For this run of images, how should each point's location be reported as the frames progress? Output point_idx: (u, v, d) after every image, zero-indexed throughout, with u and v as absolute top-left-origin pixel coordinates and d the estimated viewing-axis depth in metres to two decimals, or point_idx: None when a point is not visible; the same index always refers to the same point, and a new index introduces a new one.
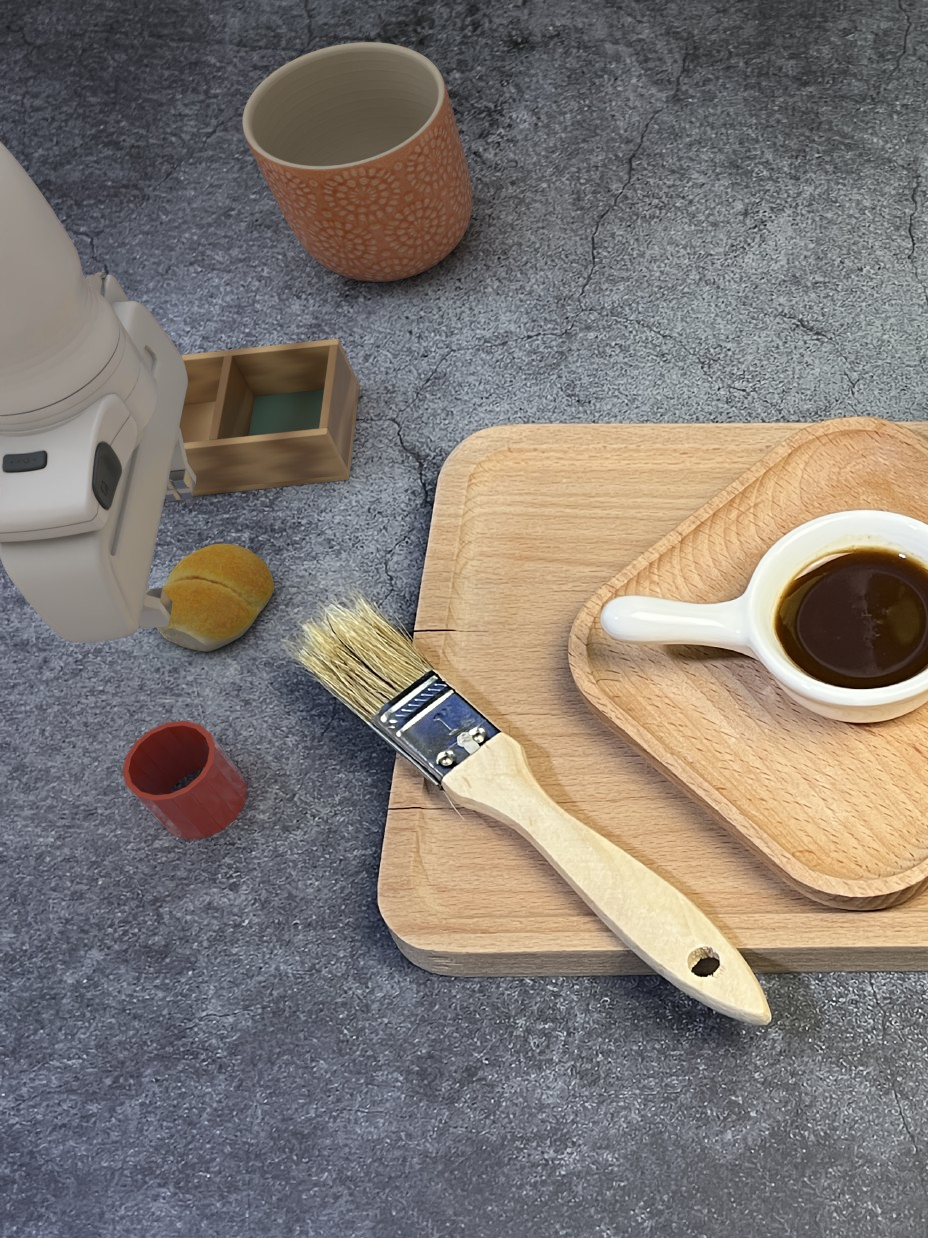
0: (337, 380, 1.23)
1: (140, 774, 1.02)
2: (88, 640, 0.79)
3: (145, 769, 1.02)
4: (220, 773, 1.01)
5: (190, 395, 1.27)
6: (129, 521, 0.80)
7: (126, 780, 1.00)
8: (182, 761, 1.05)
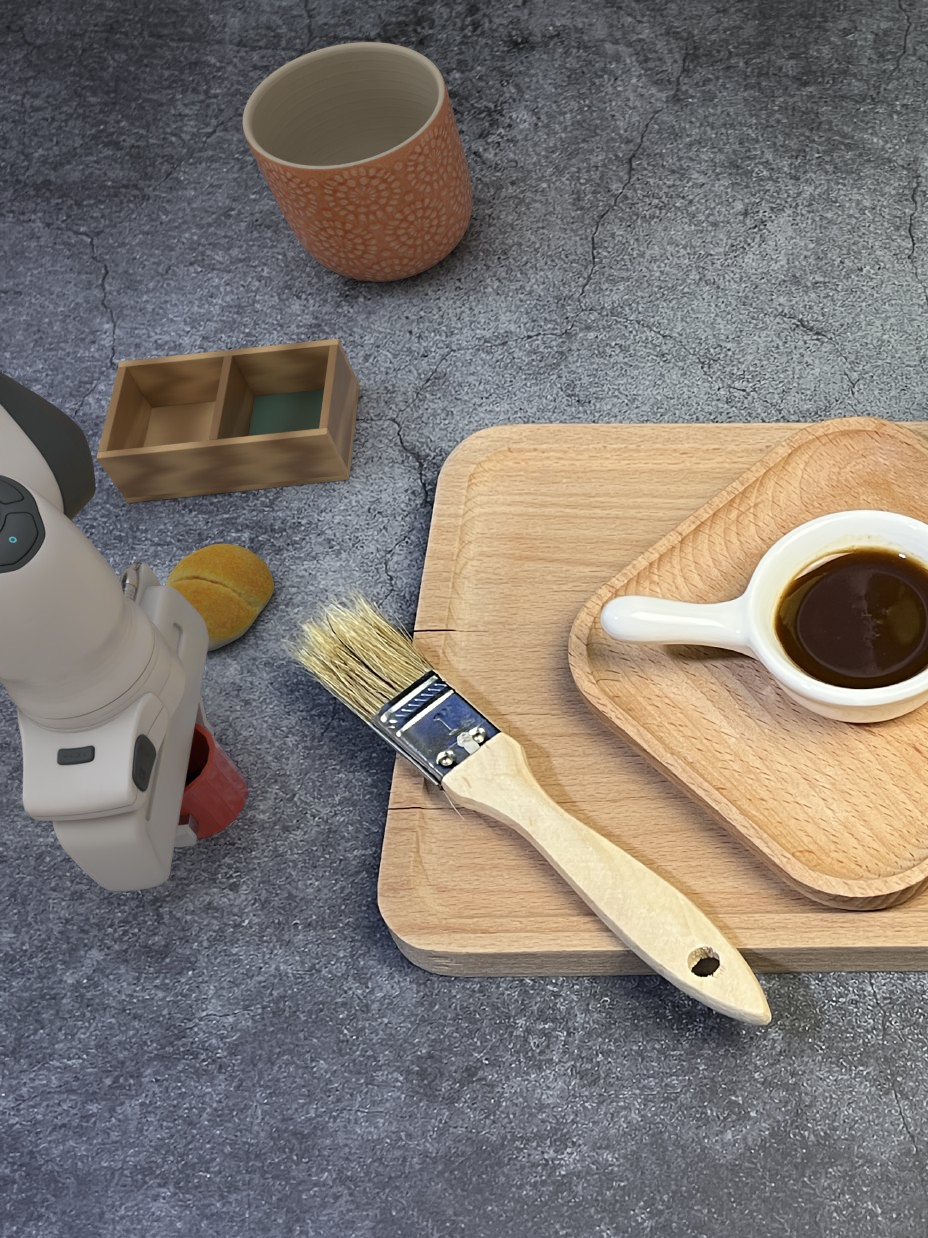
0: (337, 380, 1.23)
1: None
2: (127, 889, 0.93)
3: None
4: (220, 773, 1.01)
5: (190, 395, 1.27)
6: (161, 785, 0.95)
7: None
8: None
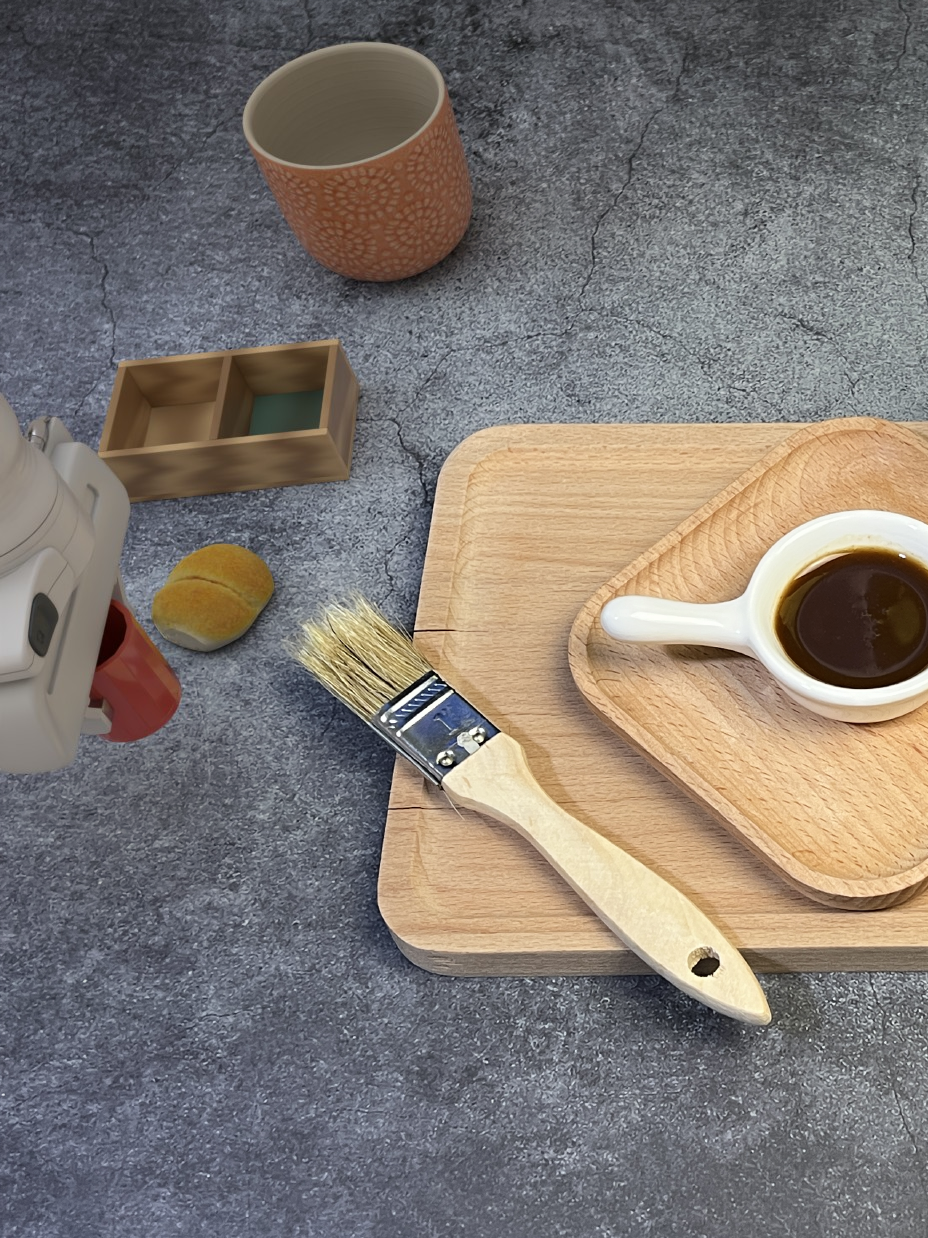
0: (337, 380, 1.23)
1: None
2: (26, 772, 0.84)
3: None
4: (138, 653, 0.91)
5: (190, 395, 1.27)
6: (67, 658, 0.85)
7: None
8: None
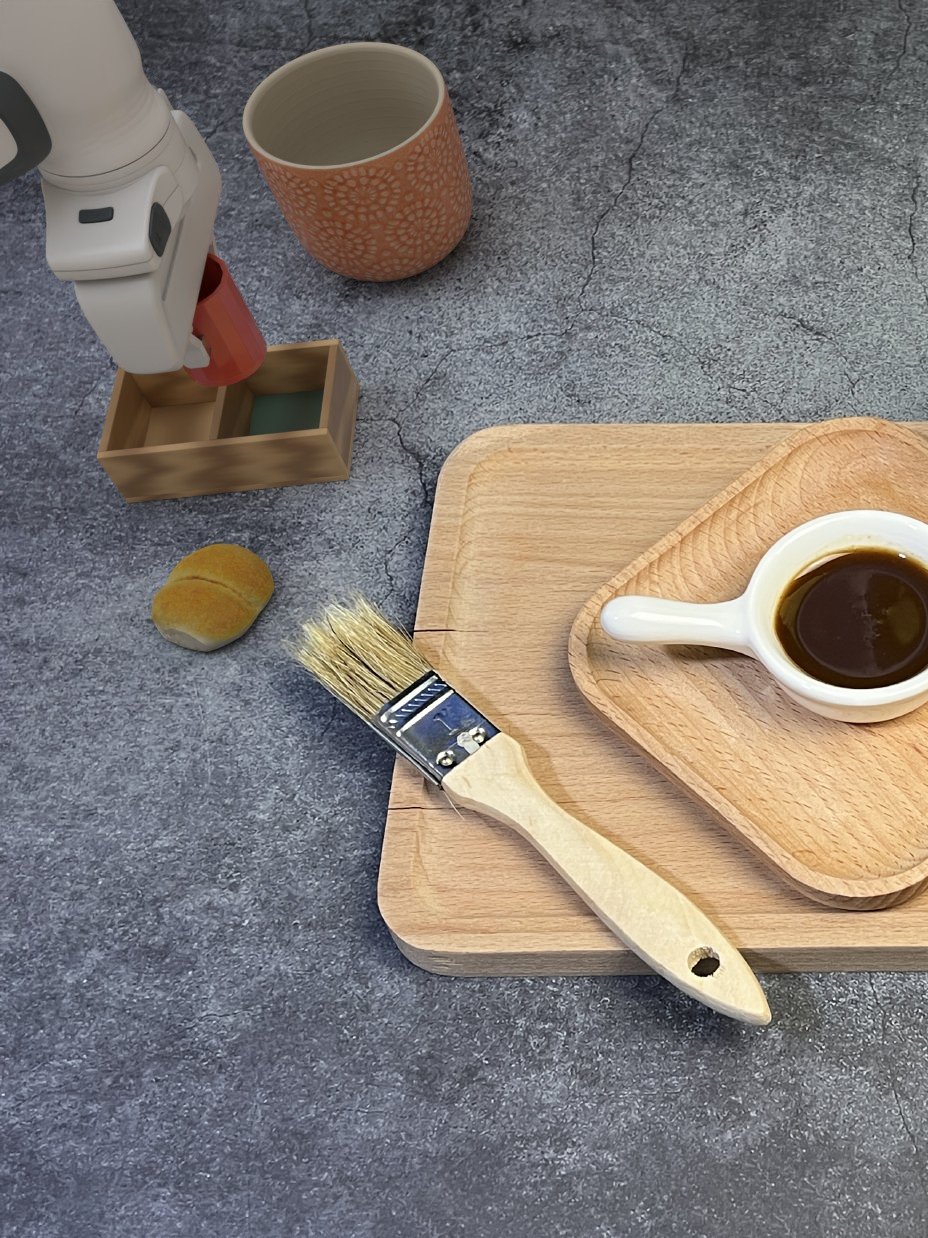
0: (337, 380, 1.23)
1: None
2: (143, 371, 0.99)
3: None
4: (233, 297, 1.07)
5: (190, 395, 1.27)
6: (176, 279, 1.00)
7: None
8: (197, 303, 1.10)
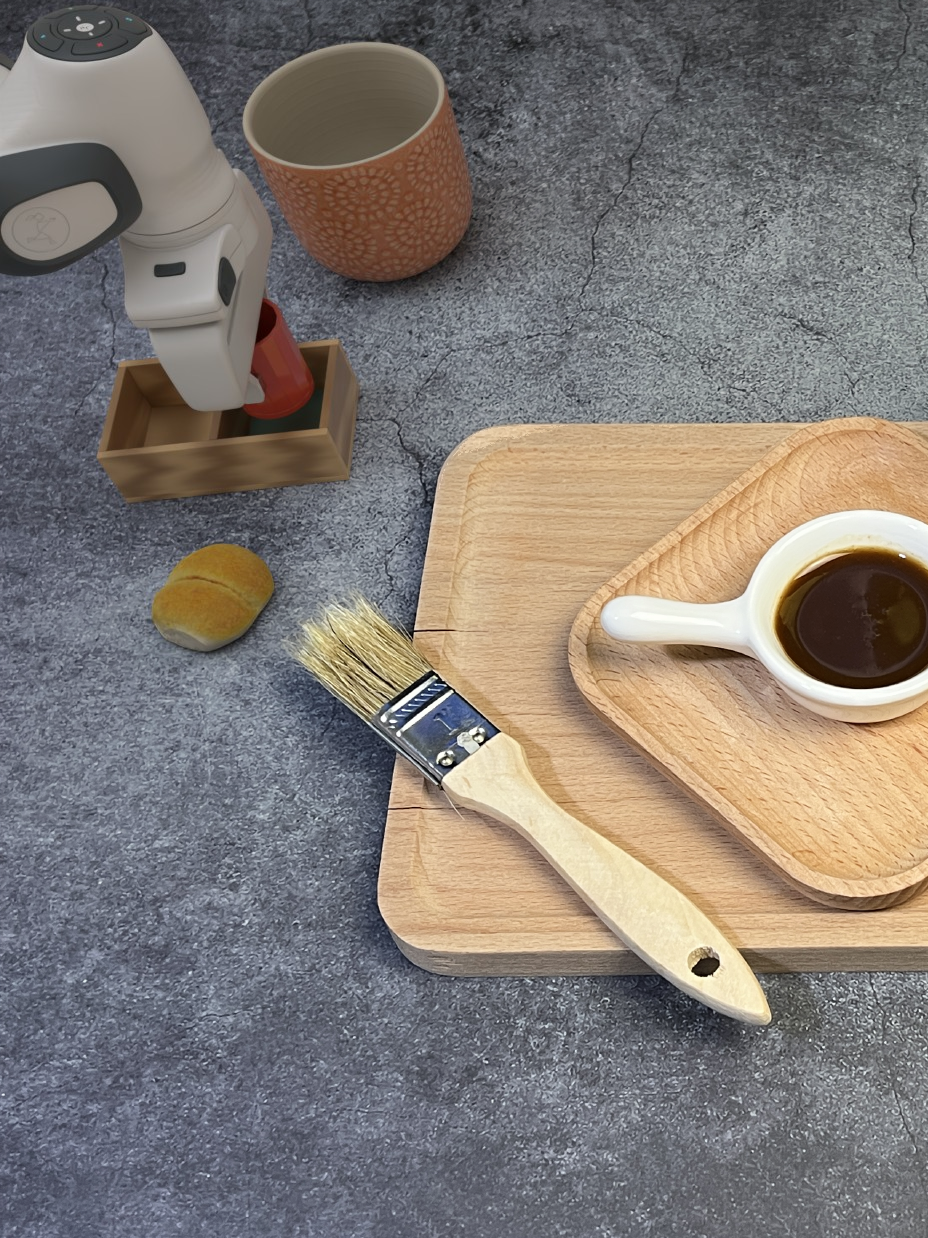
0: (337, 380, 1.23)
1: None
2: (209, 409, 1.09)
3: None
4: (285, 338, 1.16)
5: None
6: (238, 325, 1.10)
7: None
8: None
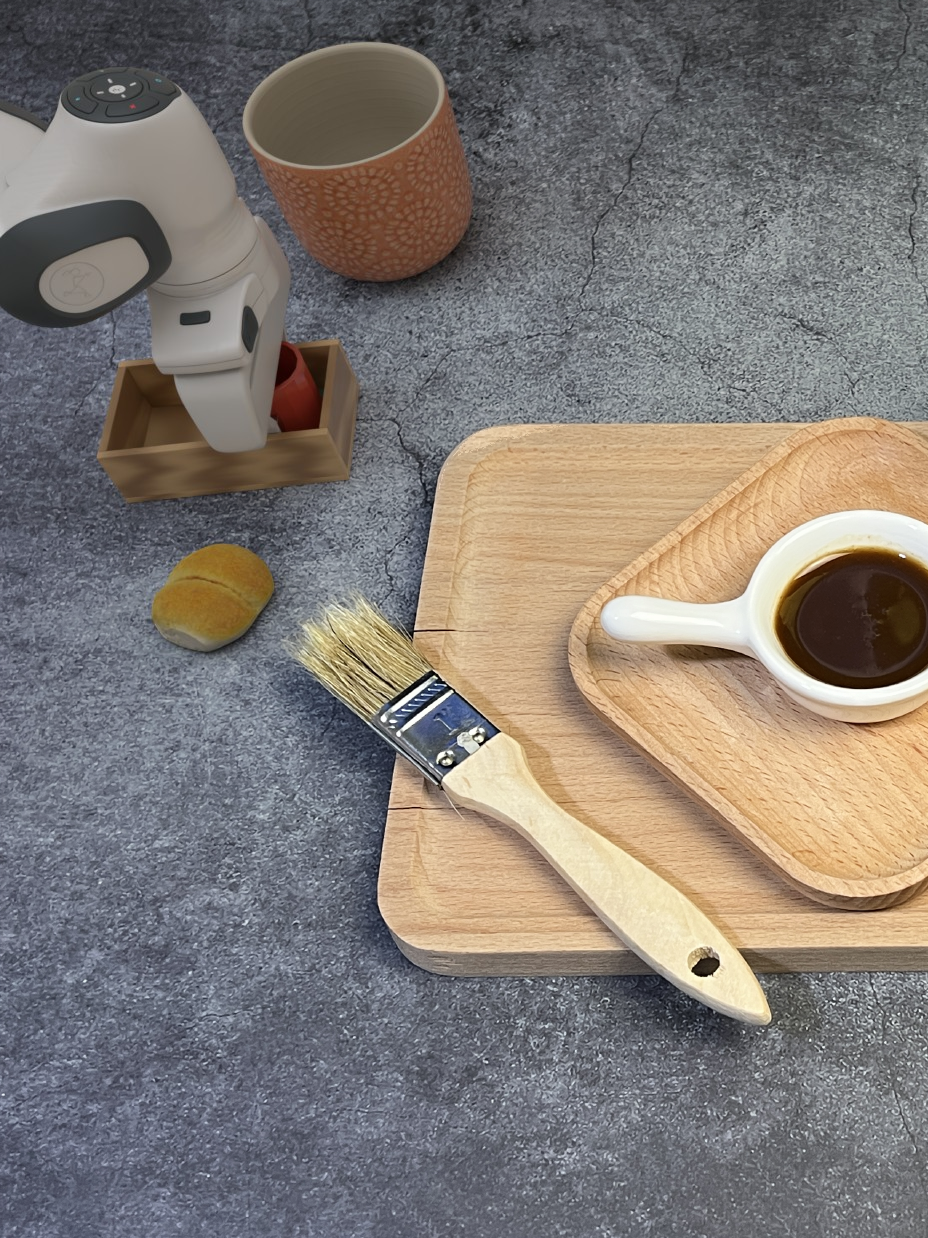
0: (337, 380, 1.23)
1: None
2: (231, 450, 1.12)
3: None
4: (306, 380, 1.20)
5: None
6: (259, 369, 1.14)
7: None
8: None
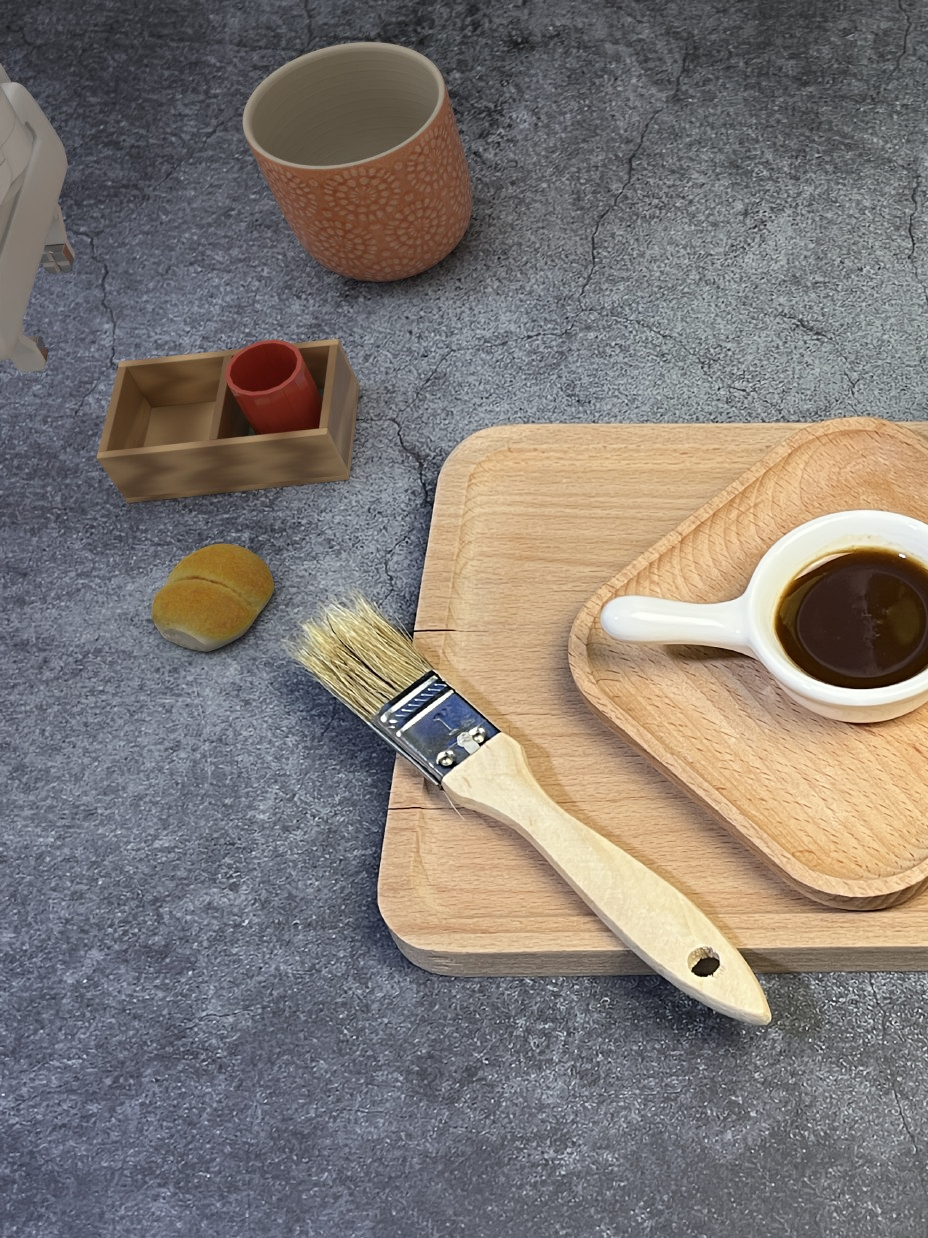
0: (337, 380, 1.23)
1: (238, 383, 1.21)
2: None
3: (242, 382, 1.21)
4: (306, 380, 1.20)
5: (190, 395, 1.27)
6: (6, 263, 0.93)
7: (228, 381, 1.19)
8: (271, 383, 1.24)
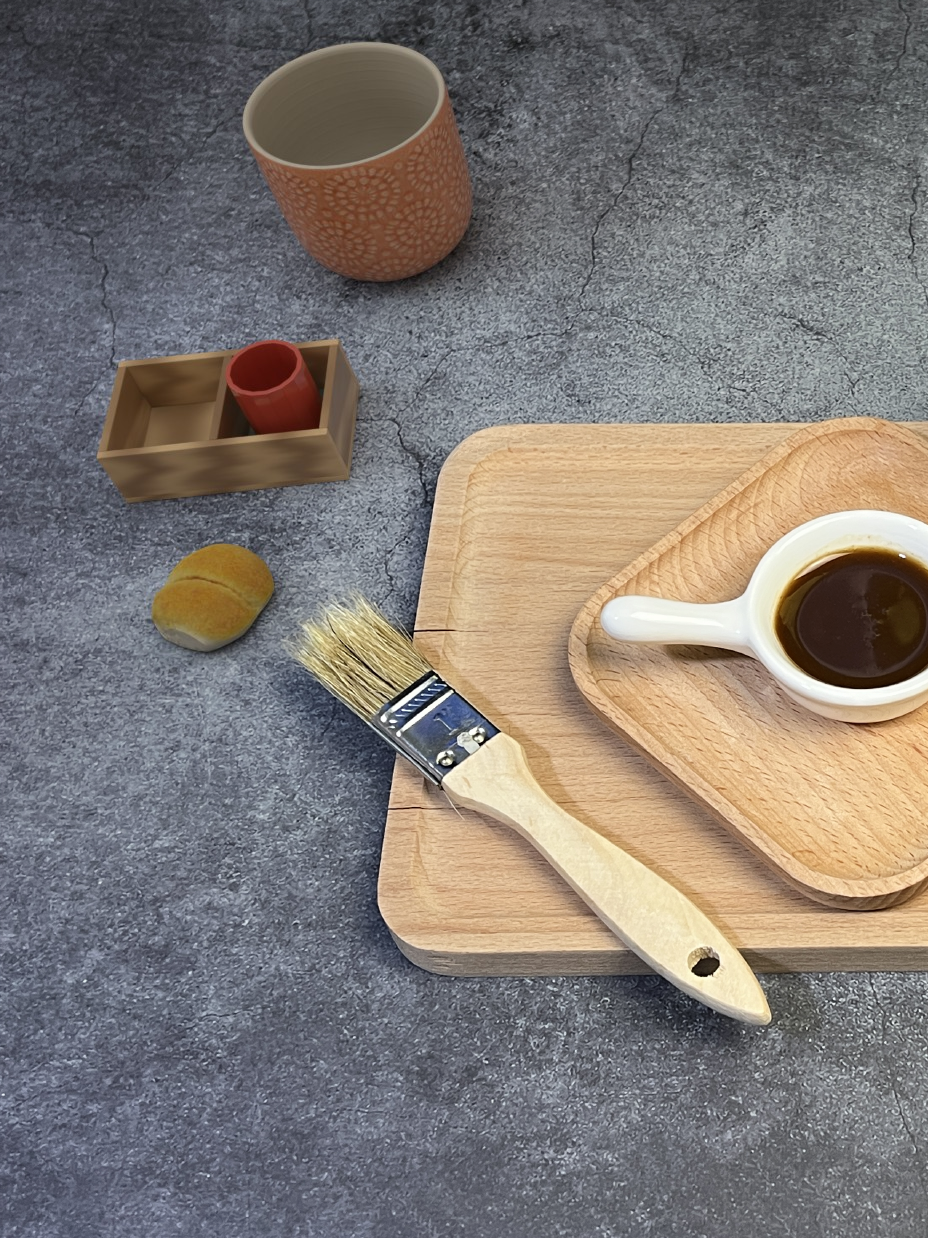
0: (337, 380, 1.23)
1: (238, 383, 1.21)
2: None
3: (242, 382, 1.21)
4: (306, 380, 1.20)
5: (190, 395, 1.27)
6: None
7: (228, 381, 1.19)
8: (271, 383, 1.24)
